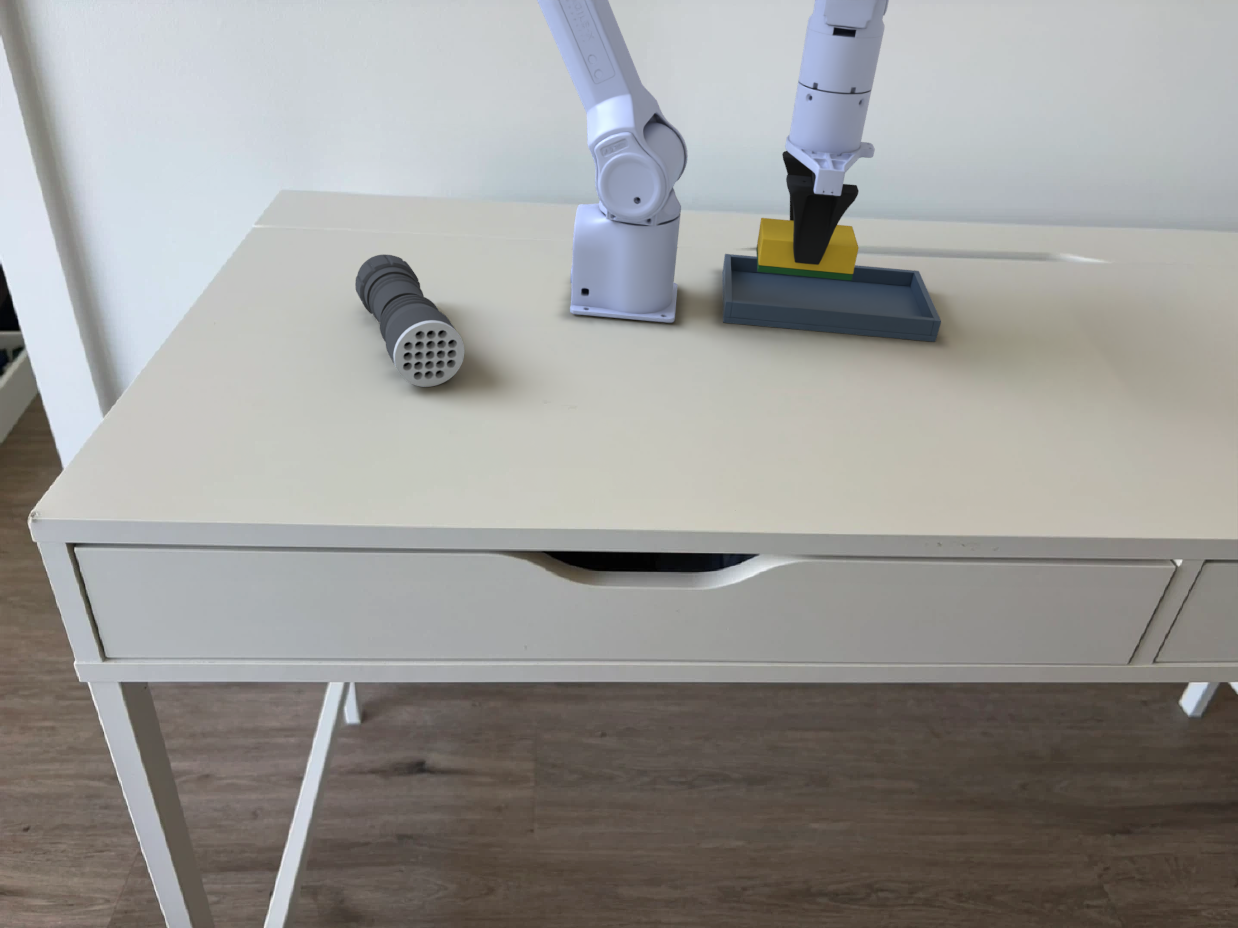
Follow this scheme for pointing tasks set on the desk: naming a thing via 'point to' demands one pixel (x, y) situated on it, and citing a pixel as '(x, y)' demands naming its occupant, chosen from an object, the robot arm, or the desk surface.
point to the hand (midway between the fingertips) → (804, 249)
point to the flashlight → (409, 322)
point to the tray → (830, 301)
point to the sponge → (780, 260)
